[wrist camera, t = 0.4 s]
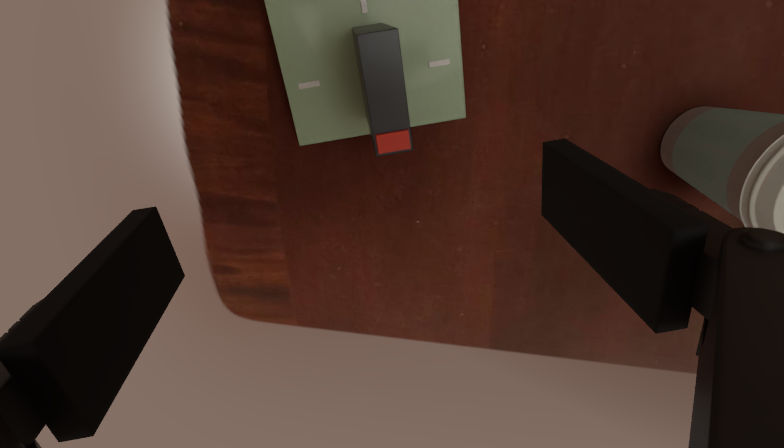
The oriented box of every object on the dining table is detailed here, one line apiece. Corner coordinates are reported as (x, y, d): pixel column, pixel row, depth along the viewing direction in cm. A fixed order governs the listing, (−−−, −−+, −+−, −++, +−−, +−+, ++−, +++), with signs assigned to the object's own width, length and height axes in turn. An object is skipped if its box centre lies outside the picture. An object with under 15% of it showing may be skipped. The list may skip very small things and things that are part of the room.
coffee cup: (637, 194, 39) (749, 263, 29) (652, 95, 36) (788, 133, 25) (729, 180, 40) (873, 244, 29) (753, 82, 36) (930, 113, 25)
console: (259, -46, 29) (250, -52, 26) (442, -75, 29) (453, -84, 26) (306, 149, 34) (303, 161, 32) (457, 123, 35) (467, 133, 32)
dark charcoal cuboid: (351, 27, 28) (355, 34, 20) (382, 22, 28) (398, 28, 21) (367, 120, 31) (376, 158, 23) (395, 115, 31) (414, 152, 23)
